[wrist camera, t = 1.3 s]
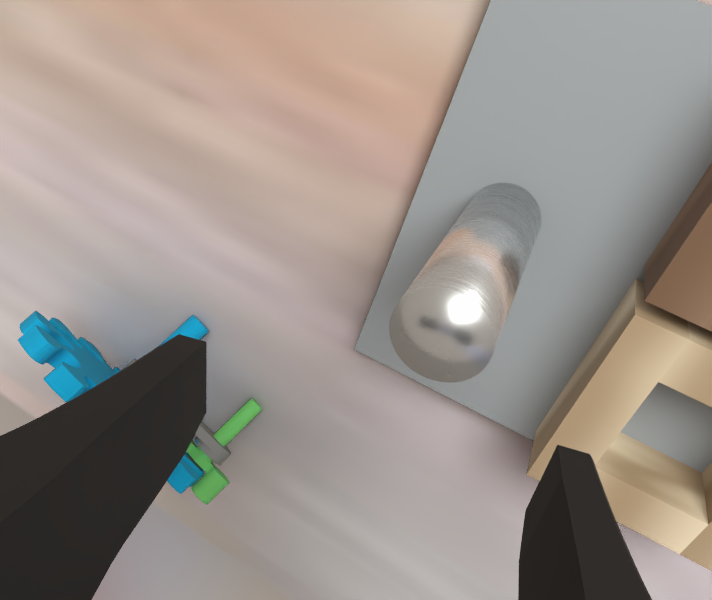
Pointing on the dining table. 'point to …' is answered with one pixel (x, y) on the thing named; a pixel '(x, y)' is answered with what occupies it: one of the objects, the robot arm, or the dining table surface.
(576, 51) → the board
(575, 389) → the block birch
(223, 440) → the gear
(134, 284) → the dining table surface
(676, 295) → the block walnut
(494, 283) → the pin
